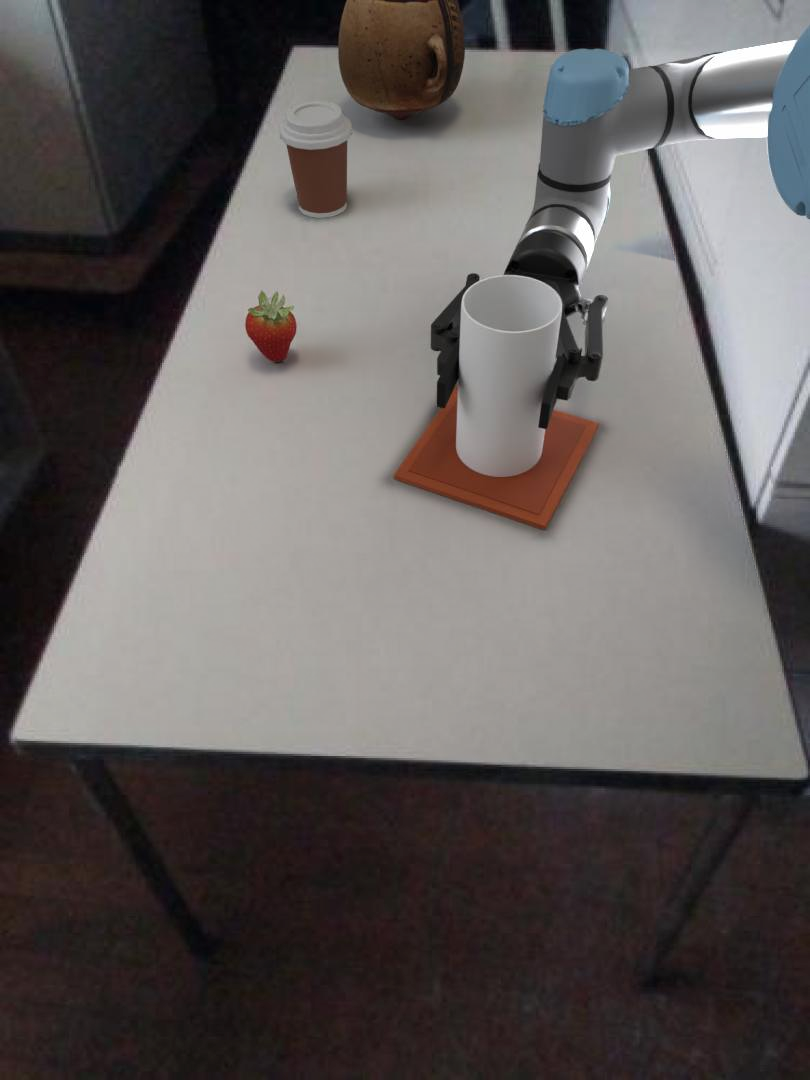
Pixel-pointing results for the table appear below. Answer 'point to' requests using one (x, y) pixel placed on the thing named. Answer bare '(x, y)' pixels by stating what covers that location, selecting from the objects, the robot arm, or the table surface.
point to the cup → (505, 372)
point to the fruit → (271, 327)
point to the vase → (401, 53)
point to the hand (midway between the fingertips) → (491, 405)
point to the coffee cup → (318, 156)
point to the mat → (506, 496)
